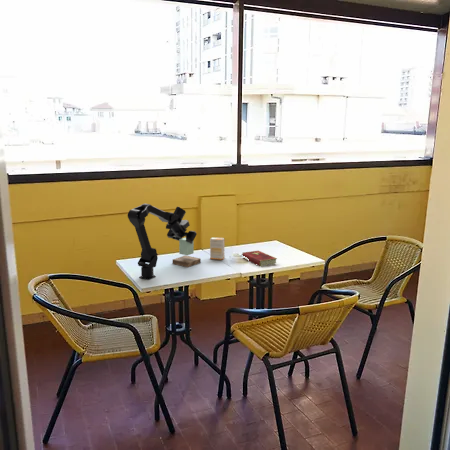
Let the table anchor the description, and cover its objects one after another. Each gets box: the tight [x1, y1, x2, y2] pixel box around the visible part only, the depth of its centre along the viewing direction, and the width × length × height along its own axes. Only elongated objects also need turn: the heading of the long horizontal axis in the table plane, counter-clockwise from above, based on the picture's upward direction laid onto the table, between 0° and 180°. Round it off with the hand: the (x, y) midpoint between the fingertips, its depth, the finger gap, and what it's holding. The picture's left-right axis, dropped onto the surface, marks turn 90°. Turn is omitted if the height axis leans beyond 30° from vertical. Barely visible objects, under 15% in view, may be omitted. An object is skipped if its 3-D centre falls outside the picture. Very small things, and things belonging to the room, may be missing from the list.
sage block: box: [178, 236, 195, 256], centre depth 274 cm, size 6×6×9 cm
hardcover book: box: [241, 250, 278, 267], centre depth 282 cm, size 12×21×4 cm, turn 28°
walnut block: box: [172, 255, 202, 268], centre depth 276 cm, size 12×12×3 cm
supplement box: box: [209, 236, 226, 261], centre depth 285 cm, size 8×5×13 cm, turn 74°
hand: (187, 242), depth 275 cm, fingers closed on sage block, 6 cm apart
